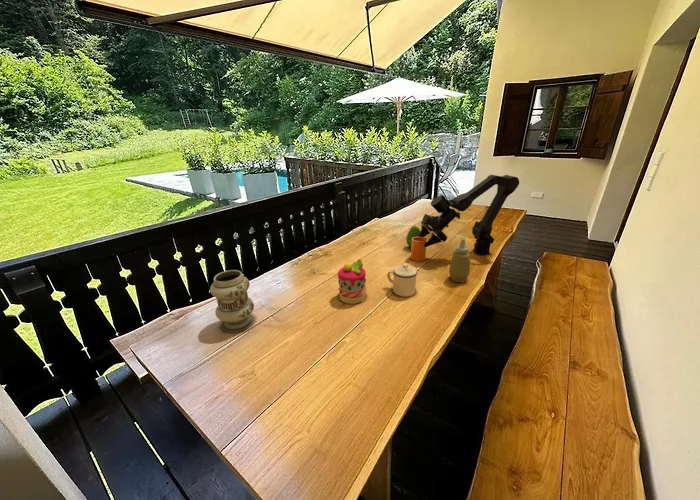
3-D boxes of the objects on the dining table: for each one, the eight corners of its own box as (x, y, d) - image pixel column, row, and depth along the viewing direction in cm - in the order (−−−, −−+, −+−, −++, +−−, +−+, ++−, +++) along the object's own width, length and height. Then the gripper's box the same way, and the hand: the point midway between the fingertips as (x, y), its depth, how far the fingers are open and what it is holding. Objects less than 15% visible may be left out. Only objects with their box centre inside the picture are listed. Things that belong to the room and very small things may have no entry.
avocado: (414, 251, 154) (416, 229, 150) (403, 247, 160) (404, 226, 155) (424, 247, 159) (425, 225, 155) (412, 243, 165) (413, 222, 160)
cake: (346, 307, 108) (345, 269, 102) (334, 293, 117) (332, 258, 111) (371, 299, 113) (371, 263, 107) (357, 287, 121) (357, 253, 116)
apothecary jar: (227, 312, 107) (217, 267, 100) (261, 312, 106) (253, 266, 99) (212, 334, 95) (200, 284, 89) (249, 334, 95) (240, 284, 88)
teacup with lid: (419, 289, 119) (421, 262, 114) (409, 299, 112) (411, 271, 107) (392, 281, 125) (393, 256, 121) (381, 290, 118) (382, 264, 114)
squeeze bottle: (469, 284, 121) (476, 243, 114) (449, 283, 123) (453, 242, 116) (466, 275, 128) (472, 236, 122) (447, 274, 130) (451, 235, 123)
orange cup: (426, 256, 148) (427, 237, 144) (423, 261, 142) (425, 242, 139) (412, 254, 151) (413, 236, 147) (409, 260, 145) (410, 240, 141)
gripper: (425, 203, 147) (403, 226, 149) (443, 213, 129) (417, 239, 132) (439, 217, 151) (417, 240, 153) (458, 229, 134) (432, 254, 136)
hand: (420, 243), depth 144 cm, fingers open, 9 cm apart
